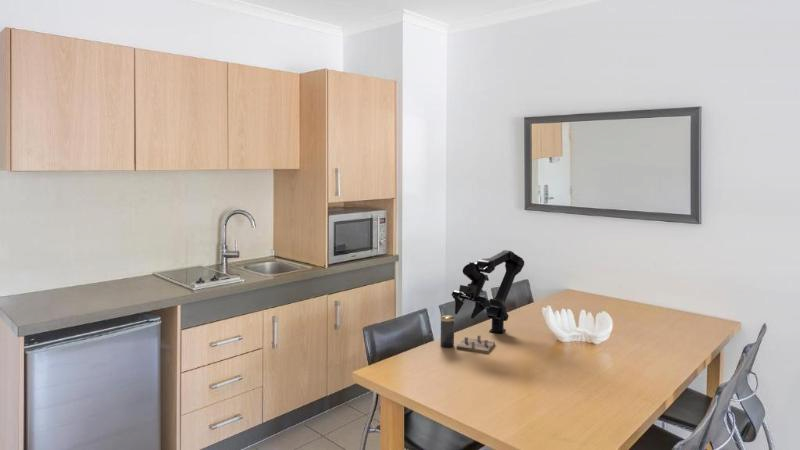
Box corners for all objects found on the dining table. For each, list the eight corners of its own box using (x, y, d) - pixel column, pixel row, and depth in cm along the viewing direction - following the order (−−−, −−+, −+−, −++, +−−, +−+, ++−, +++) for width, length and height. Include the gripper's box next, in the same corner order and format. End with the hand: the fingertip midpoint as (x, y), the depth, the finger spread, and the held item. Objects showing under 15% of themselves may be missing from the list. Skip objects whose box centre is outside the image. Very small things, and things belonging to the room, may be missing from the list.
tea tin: (443, 342, 246) (443, 314, 245) (455, 344, 244) (456, 316, 242) (438, 346, 241) (438, 318, 239) (451, 349, 238) (451, 320, 237)
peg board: (464, 340, 249) (465, 332, 249) (495, 344, 244) (495, 336, 243) (456, 348, 239) (456, 340, 238) (487, 353, 233) (487, 345, 232)
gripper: (451, 273, 250) (438, 304, 245) (484, 280, 236) (470, 313, 232) (464, 284, 257) (451, 314, 252) (496, 291, 244) (483, 323, 239)
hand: (463, 316), depth 244 cm, fingers open, 9 cm apart
